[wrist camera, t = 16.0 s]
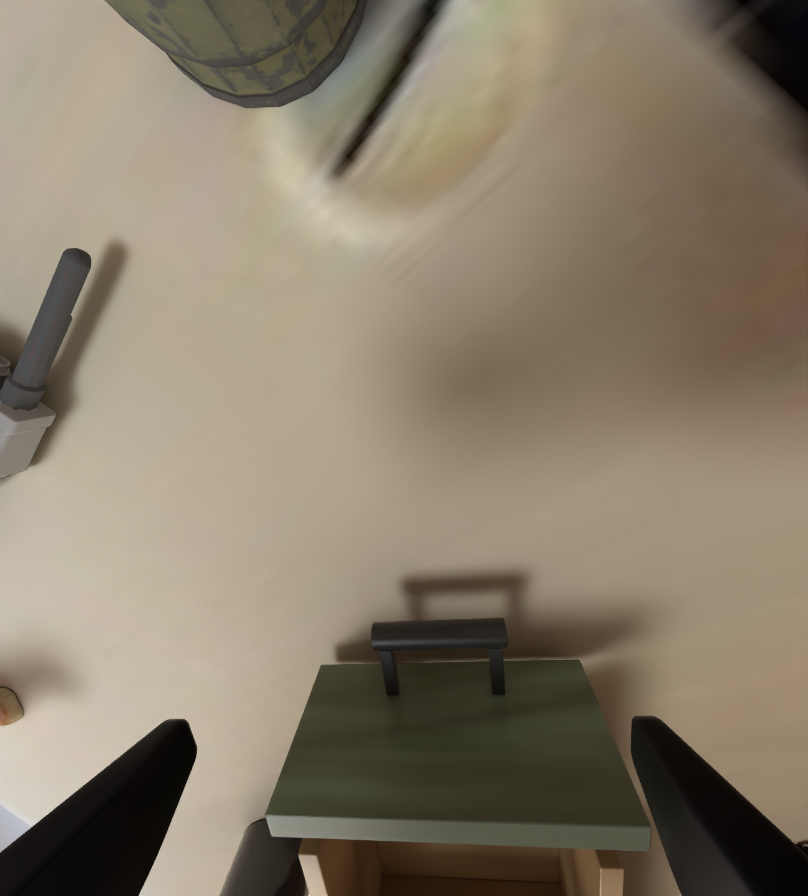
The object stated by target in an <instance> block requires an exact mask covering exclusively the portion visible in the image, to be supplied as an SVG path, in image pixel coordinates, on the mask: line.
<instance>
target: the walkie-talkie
mask: <svg viewBox="0 0 808 896" xmlns="http://www.w3.org/2000/svg"><path fill="white" fill-rule="evenodd" d="M90 268H91V257H90V255H89V254H88V253H87V252H85V251H83V250H81V249H78V248H70V249H67V250H65V251H64V252H63V254H62V256H61V259H60V261H59V264H58V266H57V268H56V271H55V273H54V276H53V278H52V281H51V283H50V285H49V288H48V290H47V293H46V295H45V298H44V300H43V302H42V305H41V307H40V310H39V312H38V315H37V317H36V319H35V322H34V324H33V327H32V329H31V332H30V334H29V336H28V339H27V341H26V344H25V346H24V349H23V351H22V353H21V356H20V358H19V361H18V363H17V366H16V368H15V371H14V373H13V372H12V371H10V368H9V366H10V364H11V363H10V362H9V361H8V360H7V359H5V358H3V357H0V478H2V477H5V476H9V475H12V474H15V473H18V472H21V471H24V470H27V468H28V466H29V464H30V461H31V459H32V457H33V455H34V453H35V451H36V449H37V447H38V444H39V442H40V440H41V438H42V436H43V434H44V432H45V430H46V427H48V426H51V425H52V422H53V420H54V418H55V416H56V413H55V412H54V411H52V410H51V409H50V408H48V407H47V406H45V405H44V404H43V403H41V402H40V399H41V397H42V395H43V393H44V391H45V388H46V386H45V385H44V384H43V383H44V381H45V379H46V377H47V374H48V372H49V370H50V368H51V366H52V363H53V361H54V359H55V357H56V354H57V352H58V350H59V348H60V345H61V343H62V341H63V339H64V336H65V334H66V332H67V330H68V327H69V325H70V323H71V321H72V316H71V313H72V310H73V308H74V306H75V303H76V301H77V299H78V296H79V294H80V292H81V289H82V287H83V285H84V282H85V280H86V278H87V275H88V273H89V271H90Z"/></svg>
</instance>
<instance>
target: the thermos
mask: <svg viewBox="0 0 808 896" xmlns="http://www.w3.org/2000/svg"><path fill="white" fill-rule="evenodd" d="M105 1H106V2H107V3H108V4H109V5H110V6H111V7H112V8H113V9H114V10H115V11H116V12H117V13H118V14H119V15H120V16H121V17H122V18H123V19H124V20H125V21H126V22H128V23H129V24H130V25H131V26H133V27H134V28H135V29H136V30H138V31H139V32H140V33H141V34H143V35H144V36H145V37H146V38H148V39H149V40H150V41H151V42H153V43H154V44H155V45H156V46H158V47H159V48H160V49H162V50H163V51H164V52H166V54H167V55H168V56H169V58H170V59H171V61H172V62H173V63H174V64H175V65H176V66H177V67H178V68H179V69H180V70H181V71H182V72H183V73H184V74H185V75H187V76H188V77H189V78H190V79H192V80H193V81H194V82H195V83H197V84H198V85H199V86H200V87H202V88H203V89H204V90H205V91H207V92H208V93H209V94H210V95H212V96H213V97H216V98H219V99H222V100H224V101H227V102H230V103H233V104H236V105H239V106H242V107H245V108H257V107H275V106H282V105H284V104H286V103H288V102H290V101H293V100H295V99H297V98H299V97H301V96H303V95H305V94H307V93H309V92H312V91H313V90H314V89H315V88H316V87H317V86H318V85H319V84H320V83H321V82H322V81H323V80H324V79H325V78H326V77H327V76H328V75H329V74H330V73H331V72H332V71H333V70H334V69H335V68H336V67H337V66H338V65H339V64H340V63H341V61H342V59H343V57H344V55H345V53H346V51H347V49H348V48H349V46H350V44H351V42H352V40H353V38H354V36H355V34H356V32H357V30H358V28H359V26H360V25H361V22H362V18H363V13H364V9H365V4H366V0H105Z"/></svg>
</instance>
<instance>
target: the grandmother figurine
mask: <svg viewBox="0 0 808 896" xmlns="http://www.w3.org/2000/svg"><path fill="white" fill-rule="evenodd" d="M22 716H23V710H22V708H21V706H20V704H19V702H18V700H17V698H16V696H15V694H14V693H13V692H12V691H11V690H9V689H6V688H1V687H0V726H1V725H8V724H11V723H14V722H16V721H17V720H19V719H20V718H22Z"/></svg>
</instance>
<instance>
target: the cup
mask: <svg viewBox="0 0 808 896" xmlns="http://www.w3.org/2000/svg"><path fill="white" fill-rule="evenodd" d="M302 839H303V838H299V837H274V836H272V835H271V832H270V829H269V826H268V823H267V820H261V821H257V822H255V823H253V824H251V825H250V826H249V827H248V828H247V829H246V831H245V833H244V835H243V838H242V840H241V842H240V845H239V847H238V850H237V852H236V855H235V857H234V860H233V862H232V865H231V867H230V870H229V872H228V875H227V877H226V880H225V882H224V885H223V887H222V890H221V892H220V895H219V896H308V895H309V890H308V887H307V883H306V880H305V876H304V873H303V869H302V866H301V862H300V859H299V856H298V853H299V850H300V846H301V843H302Z"/></svg>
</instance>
